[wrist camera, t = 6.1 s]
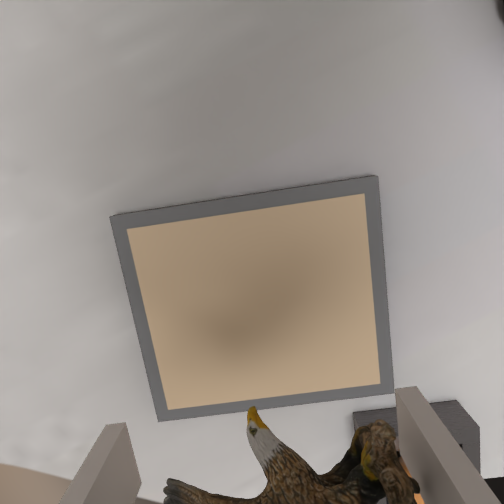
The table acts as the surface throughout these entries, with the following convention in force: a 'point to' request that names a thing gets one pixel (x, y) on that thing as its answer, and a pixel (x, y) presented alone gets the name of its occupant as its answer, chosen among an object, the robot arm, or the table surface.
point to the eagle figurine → (311, 484)
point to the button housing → (451, 417)
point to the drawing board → (260, 298)
